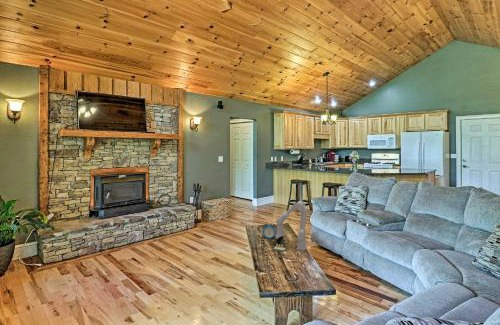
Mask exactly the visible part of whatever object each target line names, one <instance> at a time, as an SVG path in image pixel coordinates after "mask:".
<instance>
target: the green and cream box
mask: <svg viewBox="0 0 500 325" xmlns="http://www.w3.org/2000/svg"><path fill="white" fill-rule="evenodd" d="M286 250H287V247H285V246H284V247H283V245H281V247H280V244H279V246H278V244H277V246H275V247H273V248H272V251H276V252H281V253H283V252H285V251H286Z"/></svg>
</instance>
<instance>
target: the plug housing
mask: <svg viewBox="0 0 500 325" xmlns="http://www.w3.org/2000/svg"><path fill="white" fill-rule="evenodd" d="M271 241H272V242H274V246H275V247H276V246H277V240H276V238H274V239H271ZM285 241H286V240H285V239H284V238H283V239H281V242H280V247H281V245H283V247H284V248H285V246H286V244H285V243H286V242H285ZM278 247H279V245H278Z"/></svg>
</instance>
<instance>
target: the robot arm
mask: <svg viewBox="0 0 500 325" xmlns="http://www.w3.org/2000/svg"><path fill="white" fill-rule="evenodd" d="M294 210H298V211H299V212H300V213H301V215H300V220H299V221H300V224H299V230H298V234H297V236H296V237H297V247H296V249H295V250H300V251H306V250H307V248H308V246H307V239H306V236H307V234H306V223H307V215H308V209H307V208H306V204H305V203H304V202H303V201H302V200H299V201H297V202H296V203H294V204H293V205H292V206H291V207H289V209H287V211H285V212H282V213H281V215H280V216H278V218H277V219H276V221H275V222H276V233H275V239H276V240H277V244H278V245H279V244H280V242H281V239H284V238H285V235H284V231H283V230H284V229H283V228H284V222H285V221H286V220H287V219H288V218H289V216H290V214H291V213H292V212H293V211H294Z"/></svg>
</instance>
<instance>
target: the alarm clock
mask: <svg viewBox="0 0 500 325" xmlns="http://www.w3.org/2000/svg"><path fill="white" fill-rule="evenodd" d="M276 234H277V230H276V227H275V224H274V223H264V224H263V228H262V235H263V236H264V237H265V239H273V238H274V237H276Z"/></svg>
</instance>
